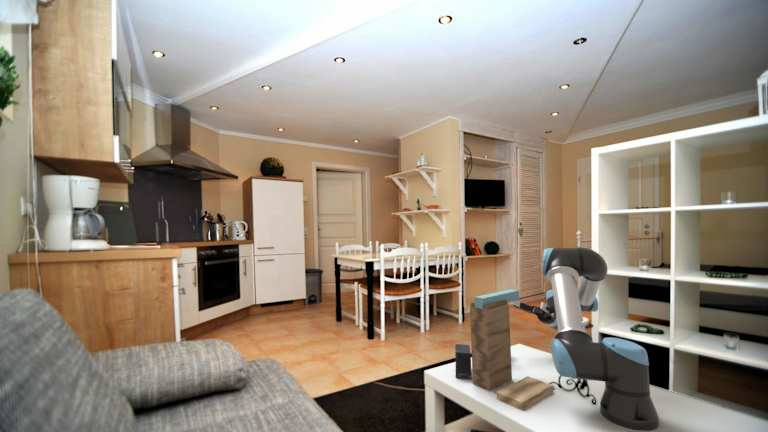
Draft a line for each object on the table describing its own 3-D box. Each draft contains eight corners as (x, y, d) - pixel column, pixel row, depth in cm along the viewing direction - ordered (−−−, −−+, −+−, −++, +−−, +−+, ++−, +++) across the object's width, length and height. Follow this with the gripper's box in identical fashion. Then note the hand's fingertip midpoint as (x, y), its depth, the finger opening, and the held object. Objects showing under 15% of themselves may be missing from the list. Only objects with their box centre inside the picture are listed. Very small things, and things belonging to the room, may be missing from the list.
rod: (519, 300, 145) (519, 290, 145) (483, 309, 131) (482, 298, 131) (511, 298, 148) (510, 289, 148) (474, 307, 134) (474, 296, 134)
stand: (511, 380, 136) (508, 300, 137) (490, 391, 128) (486, 306, 129) (494, 374, 142) (491, 297, 144) (472, 383, 134) (469, 302, 135)
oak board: (553, 392, 126) (552, 385, 126) (522, 410, 114) (522, 402, 114) (527, 382, 134) (527, 376, 134) (496, 398, 122) (496, 391, 122)
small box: (472, 379, 138) (471, 352, 139) (455, 378, 140) (454, 352, 140) (470, 368, 149) (469, 344, 149) (455, 367, 150) (454, 343, 151)
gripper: (574, 330, 151) (553, 316, 140) (521, 318, 171) (499, 305, 159) (577, 313, 153) (556, 298, 142) (524, 304, 173) (503, 290, 161)
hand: (526, 302), depth 150 cm, fingers open, 13 cm apart
